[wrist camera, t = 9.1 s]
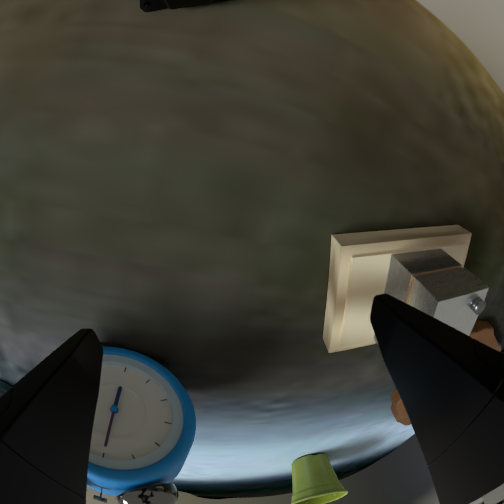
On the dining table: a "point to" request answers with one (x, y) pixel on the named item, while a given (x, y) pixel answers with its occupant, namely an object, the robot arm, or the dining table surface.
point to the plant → (479, 332)
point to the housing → (437, 287)
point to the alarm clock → (139, 430)
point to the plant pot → (315, 481)
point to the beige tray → (374, 275)
